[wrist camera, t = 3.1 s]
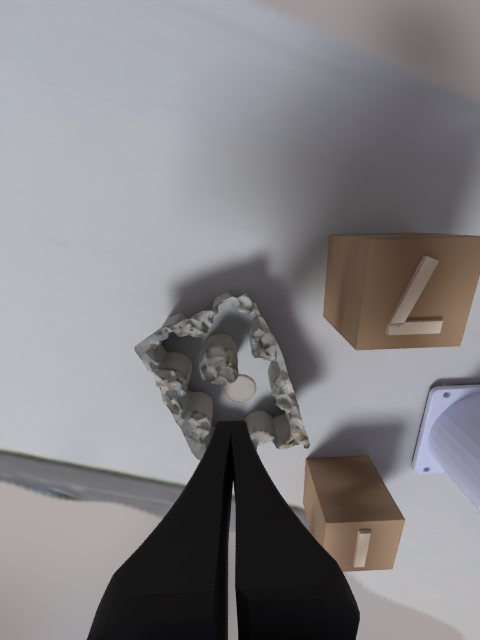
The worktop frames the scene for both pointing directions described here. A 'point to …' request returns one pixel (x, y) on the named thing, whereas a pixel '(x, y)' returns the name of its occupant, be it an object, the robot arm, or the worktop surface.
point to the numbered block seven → (401, 288)
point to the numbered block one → (352, 512)
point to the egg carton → (222, 378)
